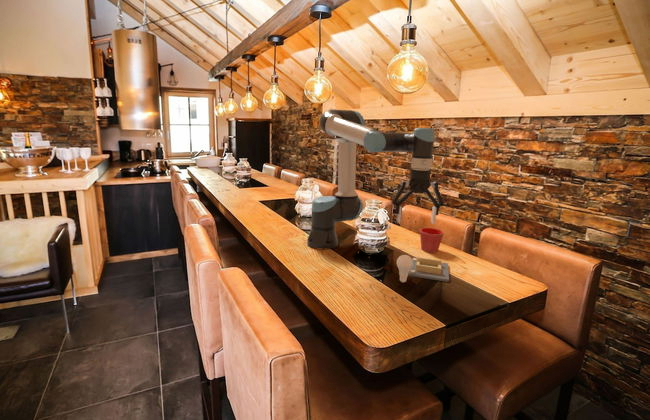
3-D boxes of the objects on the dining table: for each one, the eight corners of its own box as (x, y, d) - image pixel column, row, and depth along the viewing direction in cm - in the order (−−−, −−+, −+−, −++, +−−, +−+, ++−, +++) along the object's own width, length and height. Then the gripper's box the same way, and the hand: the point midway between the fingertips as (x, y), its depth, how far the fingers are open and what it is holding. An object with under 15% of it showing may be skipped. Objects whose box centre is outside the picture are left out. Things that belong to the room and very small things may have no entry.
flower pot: (442, 254, 168) (444, 235, 166) (418, 252, 170) (420, 232, 168) (440, 247, 178) (442, 228, 176) (417, 245, 180) (419, 226, 178)
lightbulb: (400, 286, 133) (403, 259, 130) (391, 280, 138) (394, 253, 136) (414, 284, 135) (417, 257, 133) (404, 278, 141) (407, 251, 138)
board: (407, 275, 143) (407, 267, 142) (410, 260, 160) (411, 252, 159) (448, 282, 139) (449, 273, 138) (447, 265, 155) (448, 257, 155)
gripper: (390, 169, 133) (386, 224, 138) (456, 171, 133) (450, 226, 138) (386, 167, 140) (383, 219, 145) (449, 169, 141) (443, 221, 145)
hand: (415, 222), depth 142 cm, fingers open, 13 cm apart
